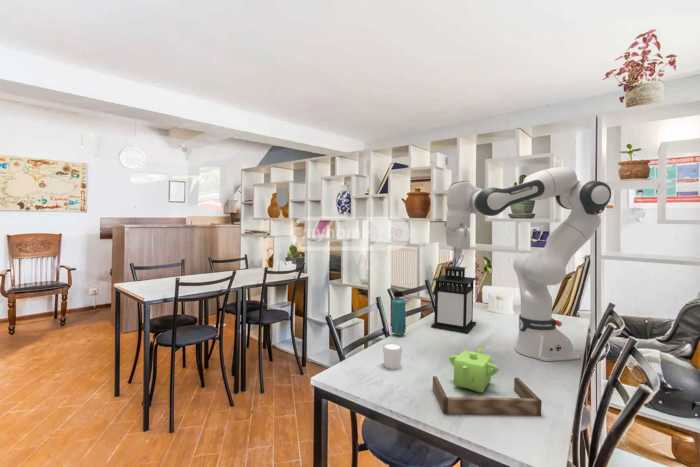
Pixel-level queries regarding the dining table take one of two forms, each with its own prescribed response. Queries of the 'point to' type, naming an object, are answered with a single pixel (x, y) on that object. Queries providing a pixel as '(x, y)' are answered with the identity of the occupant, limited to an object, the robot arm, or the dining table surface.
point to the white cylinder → (392, 355)
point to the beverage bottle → (398, 314)
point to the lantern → (454, 301)
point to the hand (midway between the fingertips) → (457, 259)
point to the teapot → (473, 370)
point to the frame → (490, 402)
